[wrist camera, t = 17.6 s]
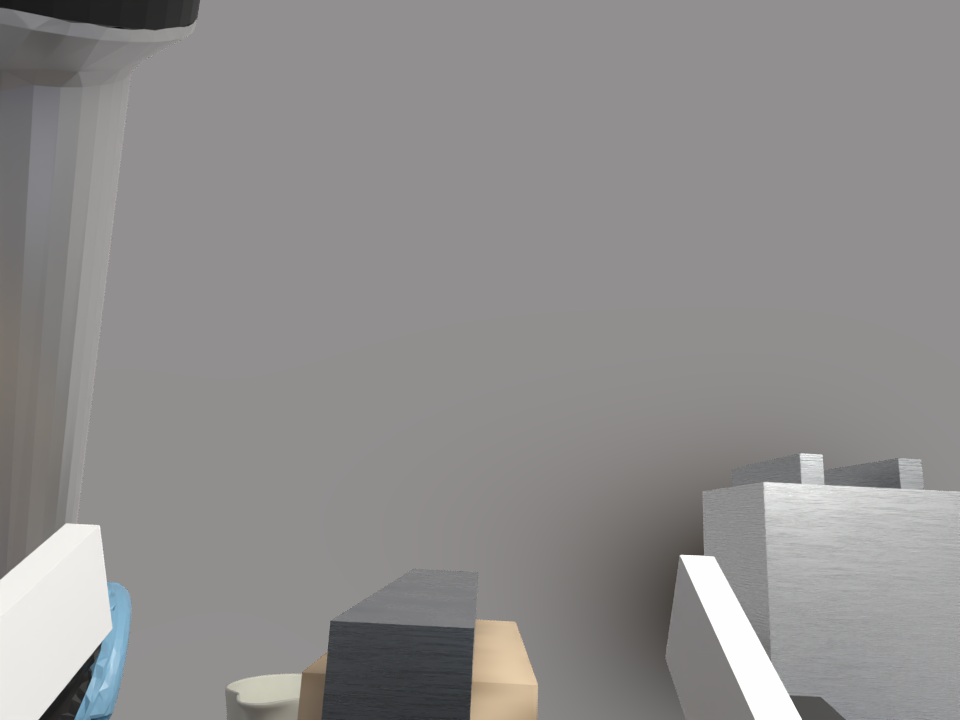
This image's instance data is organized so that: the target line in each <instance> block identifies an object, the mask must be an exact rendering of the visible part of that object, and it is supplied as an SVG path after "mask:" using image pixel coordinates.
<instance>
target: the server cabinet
mask: <svg viewBox="0 0 960 720" xmlns="http://www.w3.org/2000/svg"><path fill="white" fill-rule="evenodd" d="M703 526H704V556H712V557H715V559H716V561H717V563H718V565H719V567H720V569H721V570H722V572H723V574H724V576H725V578H726V580H727V581H728V583H729V585H730V587H731V589H732V591H733V593H734V594H735V596H736V598H737V600H738V602H739V604H740V606H741V607H742V609H743V611H744V613H745V615H746V617H747V619H748V620H749V622H750V624H751V626H752V628H753V630H754V632H755V633H756V635H757V637H758V639H759V641H760V643H761V645H762V646H763V648H764V650H765V652H766V654H767V656H768V658H769V659H770V661H771V663H772V665H773V667H774V669H775V670H776V672H777V674H778V676H779V678H780V680H781V682H782V683H783V685H784V687H785V689H786V691H787V693H788V695H794V696H813V697H822V698H823V699H824V700H825V701H826V702H827V703H828V704H829V705H830V706H831V707H833V708H834V709H835V710H836V711H837V712H838V713H839V714H840V715H841V716H842V717H844V718H845V719H846V720H960V492H954V491H933V490H924V487H923V475H922V465H921V459H901V458H897V459H891V460H885V461H879V462H873V463H866V464H861V465H854V466H848V467H842V468H835V469H830V470H823V455H821V454H801V453H800V454H795V455H791V456H787V457H782V458H778V459H774V460H769V461H765V462H760V463H756V464H752V465H747V466H743V467H738V468H734V469H732V487H728V488H722V489H715V490H709V491H703Z"/></svg>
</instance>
